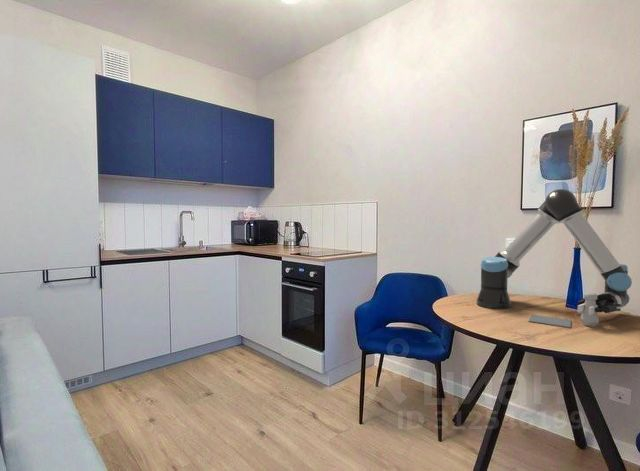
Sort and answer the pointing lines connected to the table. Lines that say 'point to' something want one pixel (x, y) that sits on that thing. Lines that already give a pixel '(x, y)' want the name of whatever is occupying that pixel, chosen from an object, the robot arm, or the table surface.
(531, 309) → the table surface
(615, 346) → the table surface
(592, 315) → the salt shaker
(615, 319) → the table surface
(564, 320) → the mat
